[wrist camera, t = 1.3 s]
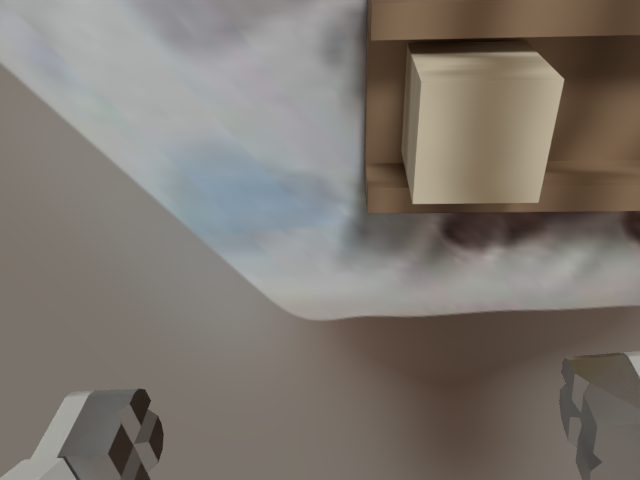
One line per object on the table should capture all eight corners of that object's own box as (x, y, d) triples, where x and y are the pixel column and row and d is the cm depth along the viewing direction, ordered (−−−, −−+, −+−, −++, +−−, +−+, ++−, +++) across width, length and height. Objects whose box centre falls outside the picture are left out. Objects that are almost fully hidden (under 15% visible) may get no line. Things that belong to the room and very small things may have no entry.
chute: (364, 179, 35) (367, 215, 32) (368, -13, 29) (372, 5, 26) (732, 175, 35) (776, 211, 31) (814, -24, 29) (880, -7, 25)
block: (401, 150, 33) (412, 203, 28) (407, 43, 30) (421, 81, 25) (507, 149, 33) (538, 202, 28) (525, 41, 29) (564, 79, 24)
